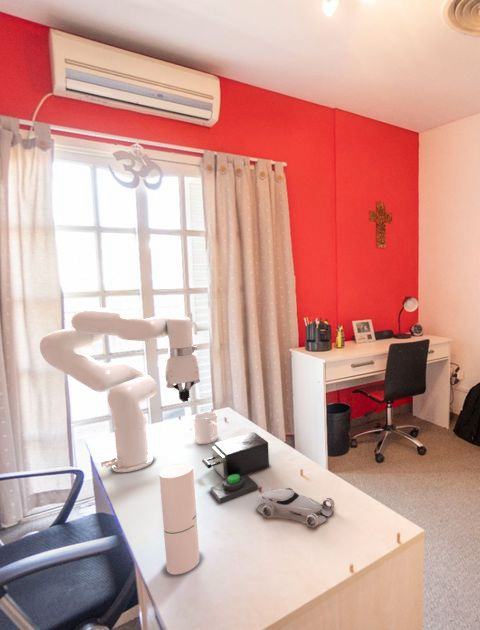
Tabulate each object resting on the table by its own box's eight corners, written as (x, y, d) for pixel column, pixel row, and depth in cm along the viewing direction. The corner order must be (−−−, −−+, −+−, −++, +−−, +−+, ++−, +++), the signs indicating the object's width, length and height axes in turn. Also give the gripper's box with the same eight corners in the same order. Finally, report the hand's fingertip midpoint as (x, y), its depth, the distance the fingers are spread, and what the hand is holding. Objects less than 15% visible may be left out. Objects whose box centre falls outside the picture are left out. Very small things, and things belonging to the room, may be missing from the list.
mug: (191, 441, 175) (189, 416, 174) (211, 434, 182) (210, 410, 181) (205, 449, 168) (204, 422, 167) (226, 441, 175) (225, 416, 174)
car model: (317, 530, 118) (317, 514, 117) (248, 513, 126) (247, 497, 125) (337, 508, 128) (337, 493, 128) (272, 494, 136) (271, 479, 136)
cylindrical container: (204, 553, 108) (198, 463, 105) (190, 574, 101) (183, 477, 98) (176, 554, 108) (169, 463, 105) (160, 574, 101) (152, 478, 98)
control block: (220, 503, 131) (219, 493, 130) (210, 491, 137) (210, 481, 137) (257, 489, 139) (257, 479, 139) (247, 479, 145) (246, 469, 145)
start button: (230, 485, 135) (229, 480, 135) (226, 481, 138) (226, 476, 138) (241, 482, 138) (241, 477, 137) (237, 477, 140) (237, 473, 140)
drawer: (210, 483, 141) (209, 461, 140) (200, 471, 149) (199, 450, 148) (262, 466, 153) (261, 445, 152) (250, 455, 161) (249, 436, 160)
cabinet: (228, 480, 144) (226, 454, 143) (216, 467, 153) (214, 443, 152) (269, 466, 154) (268, 442, 153) (255, 455, 163) (254, 431, 162)
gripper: (200, 347, 157) (203, 393, 159) (154, 352, 147) (158, 402, 149) (206, 350, 152) (209, 398, 154) (159, 356, 141) (163, 408, 144)
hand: (184, 400), depth 152 cm, fingers closed
